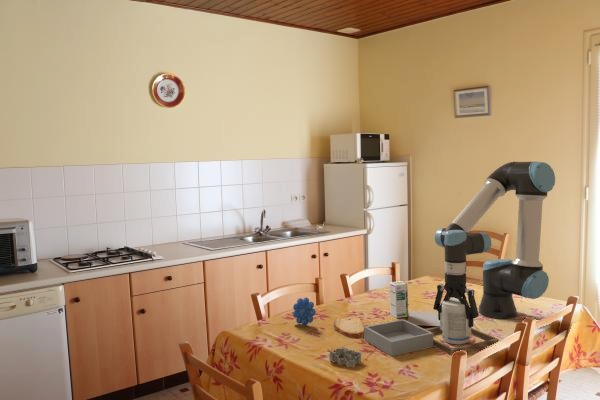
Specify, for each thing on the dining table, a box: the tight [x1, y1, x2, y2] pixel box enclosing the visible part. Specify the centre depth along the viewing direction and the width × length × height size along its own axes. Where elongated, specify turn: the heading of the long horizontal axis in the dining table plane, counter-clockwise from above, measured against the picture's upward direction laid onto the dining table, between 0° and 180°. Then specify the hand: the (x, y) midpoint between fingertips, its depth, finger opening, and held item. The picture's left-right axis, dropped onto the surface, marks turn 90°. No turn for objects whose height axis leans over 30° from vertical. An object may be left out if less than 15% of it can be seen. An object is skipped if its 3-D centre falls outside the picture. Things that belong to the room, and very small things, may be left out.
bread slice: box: [333, 315, 365, 339], centre depth 205 cm, size 18×18×4 cm
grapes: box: [292, 297, 316, 326], centre depth 211 cm, size 12×7×12 cm, turn 51°
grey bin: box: [363, 318, 434, 357], centre depth 188 cm, size 18×18×5 cm
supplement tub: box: [441, 298, 470, 345], centre depth 189 cm, size 10×10×15 cm
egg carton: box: [327, 346, 364, 368], centre depth 173 cm, size 11×8×4 cm
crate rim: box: [424, 325, 499, 356], centre depth 189 cm, size 21×21×2 cm
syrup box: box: [389, 280, 409, 319], centre depth 219 cm, size 6×6×14 cm
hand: (455, 332), depth 189 cm, fingers closed on supplement tub, 9 cm apart
